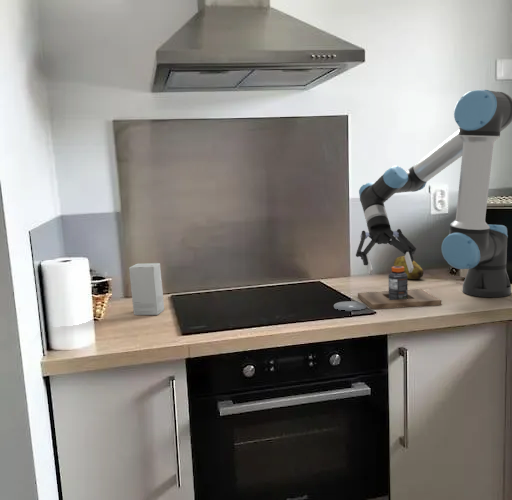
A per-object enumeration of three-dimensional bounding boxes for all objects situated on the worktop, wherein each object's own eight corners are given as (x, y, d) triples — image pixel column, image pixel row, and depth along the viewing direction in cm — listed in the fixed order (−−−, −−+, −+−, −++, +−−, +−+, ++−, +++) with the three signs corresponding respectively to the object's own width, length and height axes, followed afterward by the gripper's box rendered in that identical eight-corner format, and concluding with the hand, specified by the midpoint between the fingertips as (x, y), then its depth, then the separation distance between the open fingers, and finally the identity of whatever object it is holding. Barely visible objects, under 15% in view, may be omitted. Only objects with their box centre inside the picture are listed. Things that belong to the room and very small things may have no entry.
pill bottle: (405, 298, 185) (406, 264, 183) (409, 303, 179) (409, 268, 177) (387, 298, 186) (387, 265, 184) (389, 303, 180) (389, 268, 178)
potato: (405, 281, 210) (405, 260, 209) (390, 275, 223) (390, 255, 222) (425, 280, 212) (426, 259, 211) (410, 273, 224) (410, 254, 223)
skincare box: (164, 310, 181) (161, 262, 179) (157, 316, 175) (153, 266, 172) (140, 310, 183) (137, 262, 181) (131, 315, 176) (128, 266, 174)
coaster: (360, 302, 182) (360, 300, 182) (370, 310, 172) (370, 308, 172) (330, 304, 181) (330, 302, 181) (338, 312, 171) (338, 310, 171)
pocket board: (421, 293, 191) (421, 289, 191) (441, 304, 176) (441, 300, 175) (357, 297, 189) (357, 292, 189) (372, 309, 173) (372, 304, 173)
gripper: (409, 226, 201) (424, 275, 189) (340, 229, 199) (351, 279, 187) (414, 212, 195) (431, 262, 183) (344, 215, 193) (356, 266, 181)
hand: (391, 271), depth 185 cm, fingers open, 13 cm apart
